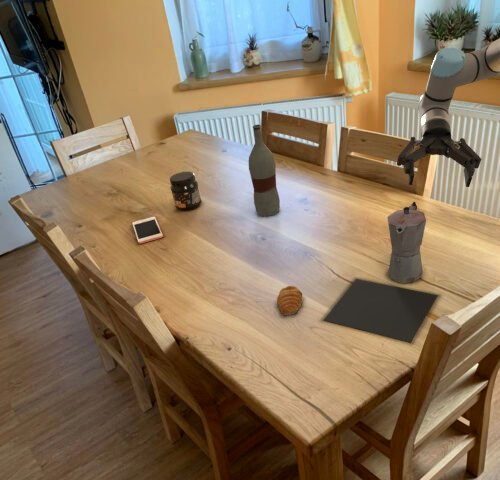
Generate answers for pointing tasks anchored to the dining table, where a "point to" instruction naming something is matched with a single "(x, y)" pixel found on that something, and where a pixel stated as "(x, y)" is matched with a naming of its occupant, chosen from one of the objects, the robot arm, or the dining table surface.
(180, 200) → the supplement container
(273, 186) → the bottle
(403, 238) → the moka pot
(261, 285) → the dining table surface
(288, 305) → the pastry
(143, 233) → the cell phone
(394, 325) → the mat
